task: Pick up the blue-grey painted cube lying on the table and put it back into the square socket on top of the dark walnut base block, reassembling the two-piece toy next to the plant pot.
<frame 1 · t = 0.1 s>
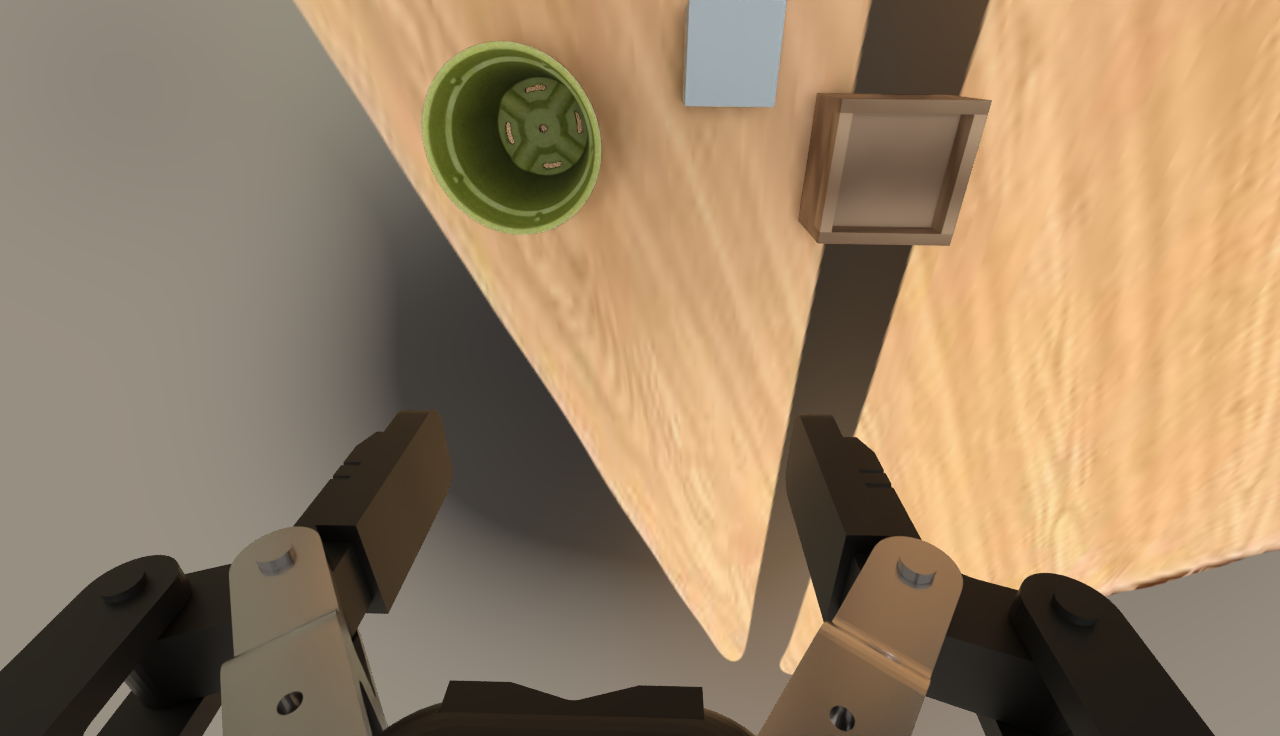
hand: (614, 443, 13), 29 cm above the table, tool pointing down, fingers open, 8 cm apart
walnut base: (867, 161, 36), on the table
bluegrey cube: (724, 56, 34), on the table
plant pot: (543, 127, 36), on the table
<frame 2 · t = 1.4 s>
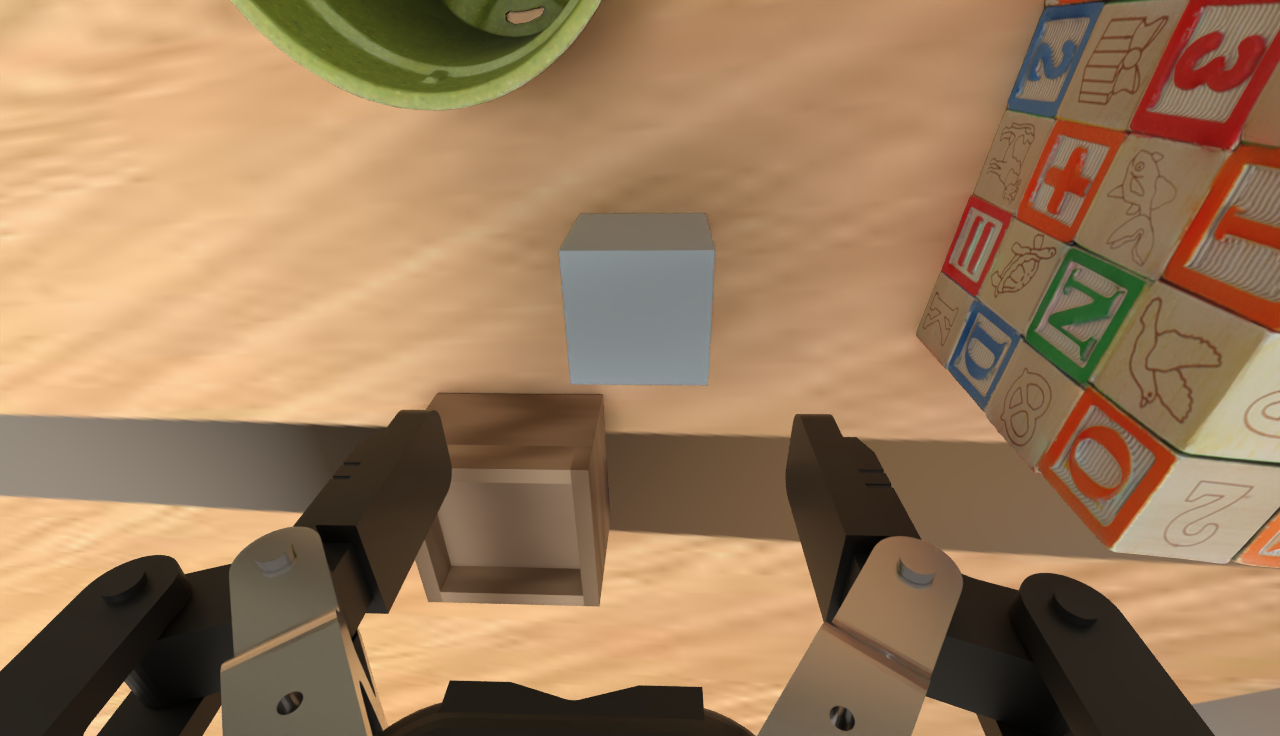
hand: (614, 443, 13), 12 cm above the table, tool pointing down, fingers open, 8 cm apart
walnut base: (529, 460, 28), on the table
bluegrey cube: (643, 272, 23), on the table
stack of blocks: (1103, 69, 19), on the table
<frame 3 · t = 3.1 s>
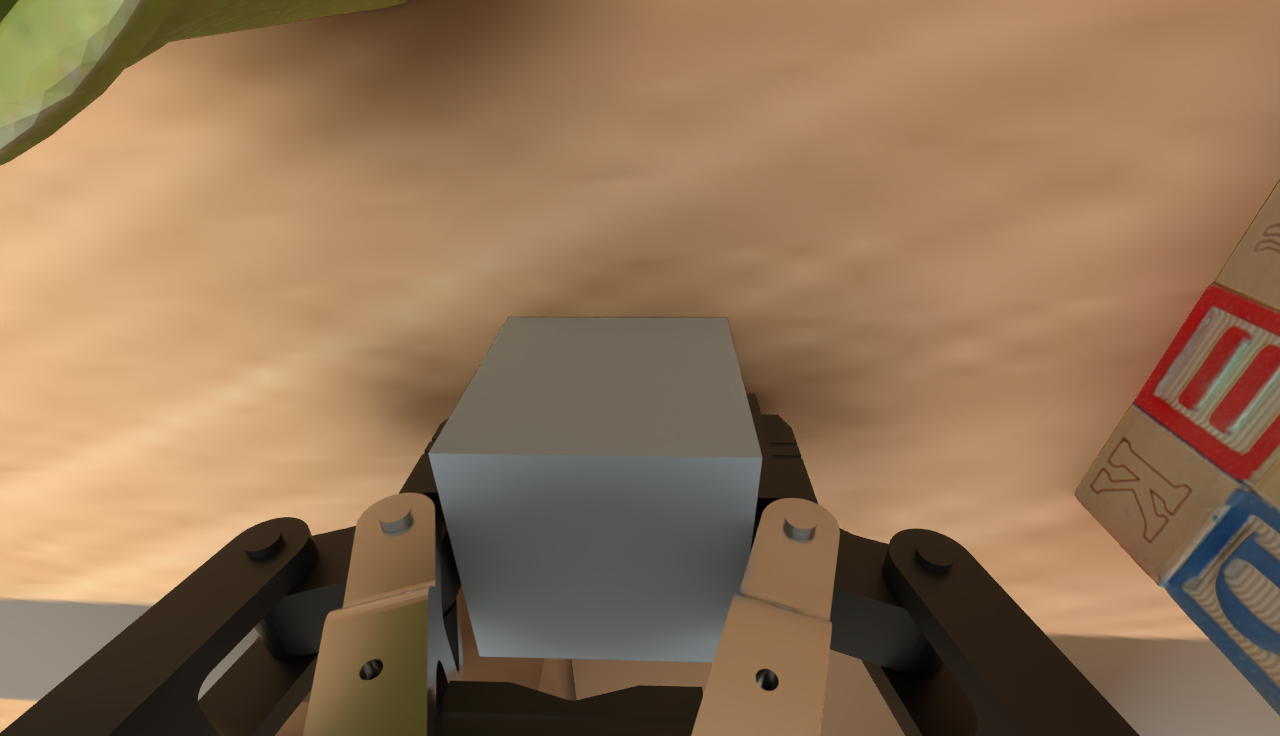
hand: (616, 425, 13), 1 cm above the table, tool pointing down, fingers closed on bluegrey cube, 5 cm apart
walnut base: (455, 651, 19), on the table
bluegrey cube: (620, 408, 14), on the table, touching gripper
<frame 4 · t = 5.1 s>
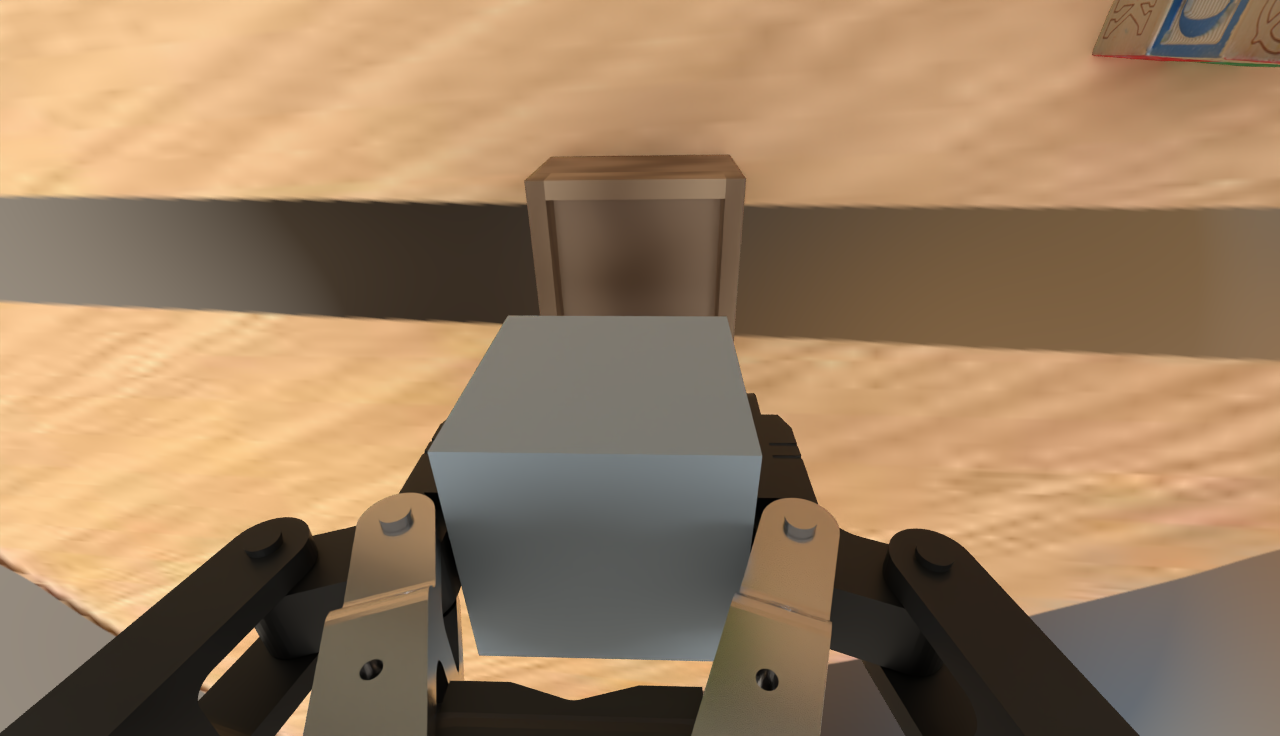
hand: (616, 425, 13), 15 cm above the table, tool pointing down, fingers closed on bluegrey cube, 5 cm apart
walnut base: (641, 243, 27), on the table
bluegrey cube: (619, 407, 14), point 15 cm above the table, touching gripper
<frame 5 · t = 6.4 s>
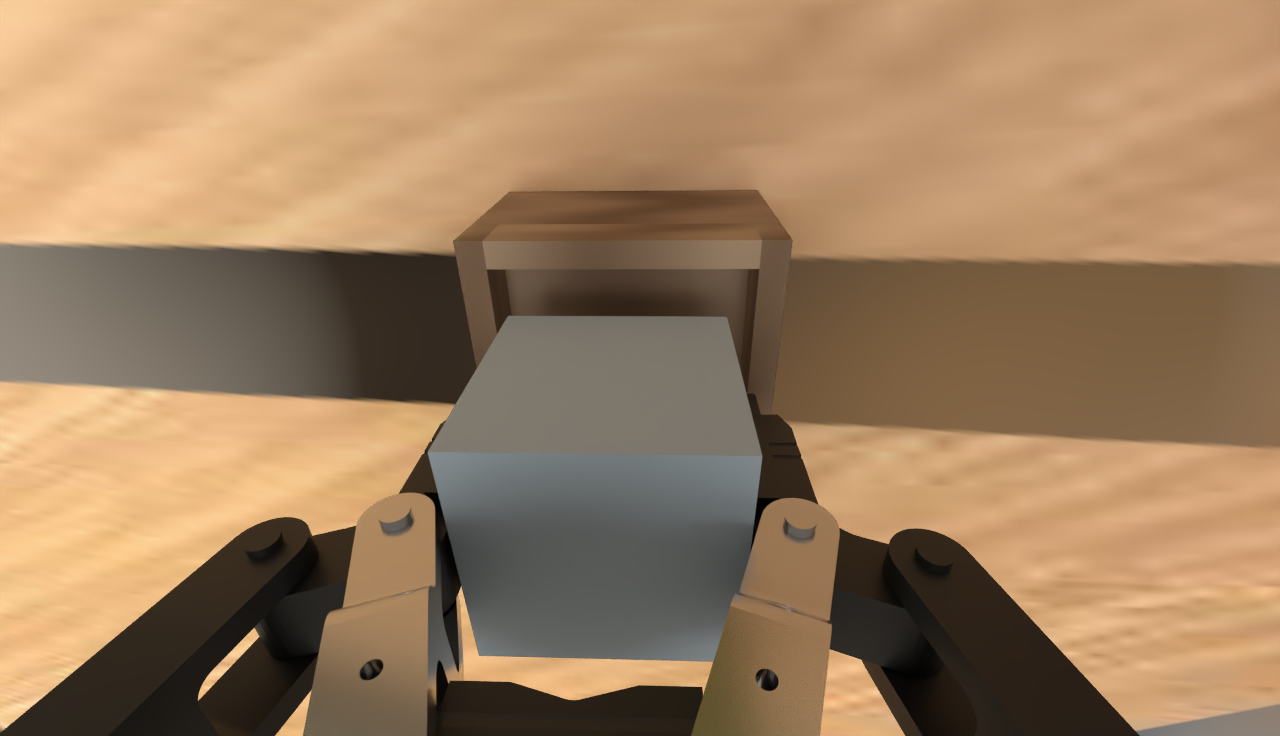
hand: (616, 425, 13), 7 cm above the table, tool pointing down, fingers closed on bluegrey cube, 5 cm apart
walnut base: (634, 306, 20), on the table
bluegrey cube: (619, 407, 14), point 7 cm above the table, touching gripper
when the fingers open (6 cm above the table, at t = 7.2 s): bluegrey cube stays where it is, resting on walnut base.
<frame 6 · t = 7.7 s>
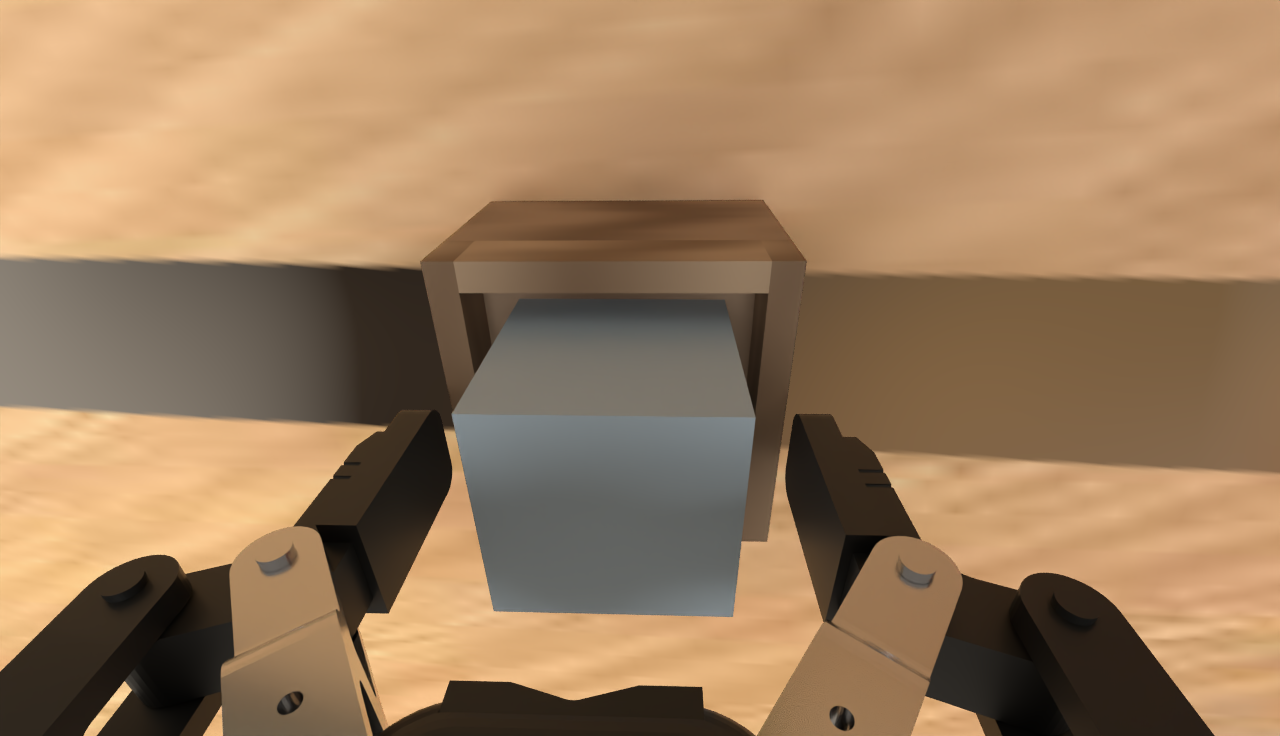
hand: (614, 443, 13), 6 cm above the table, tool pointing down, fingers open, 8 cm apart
walnut base: (628, 324, 18), on the table
bluegrey cube: (623, 386, 15), point 4 cm above the table, touching walnut base
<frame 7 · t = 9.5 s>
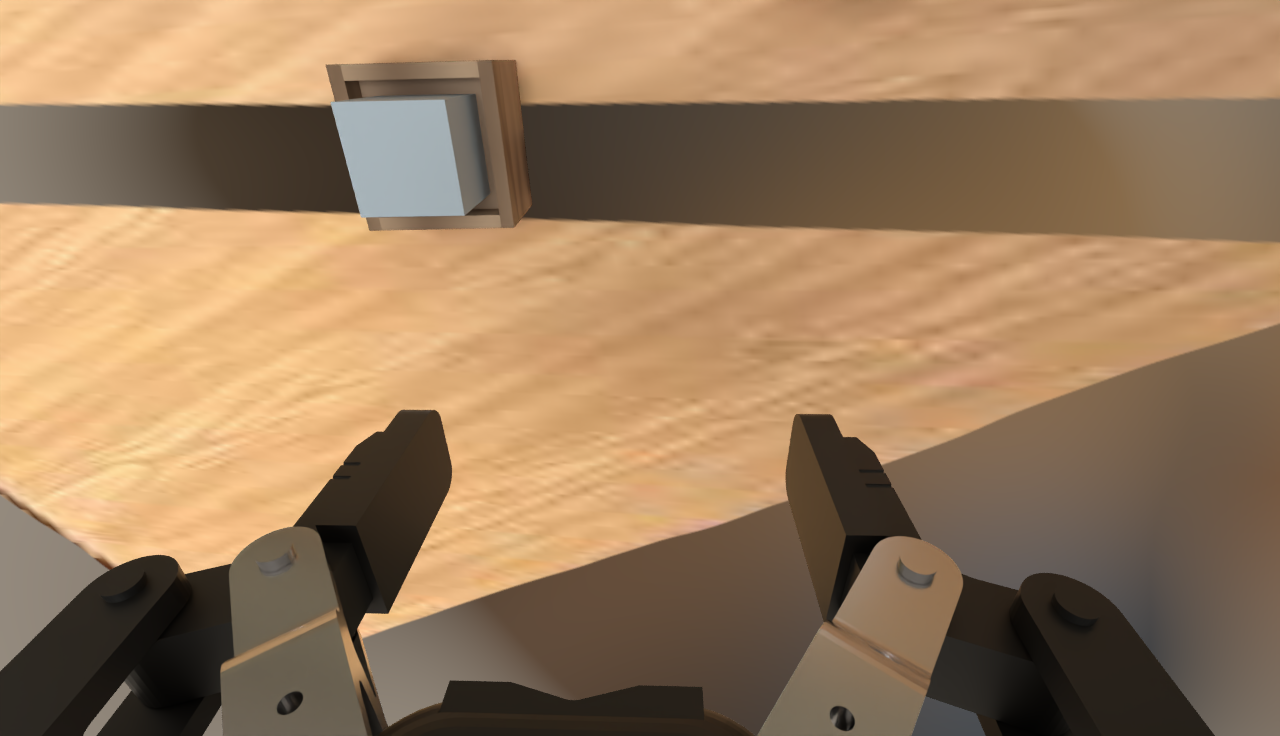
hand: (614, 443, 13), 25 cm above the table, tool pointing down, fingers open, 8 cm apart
walnut base: (458, 138, 33), on the table
bluegrey cube: (436, 146, 29), point 4 cm above the table, touching walnut base
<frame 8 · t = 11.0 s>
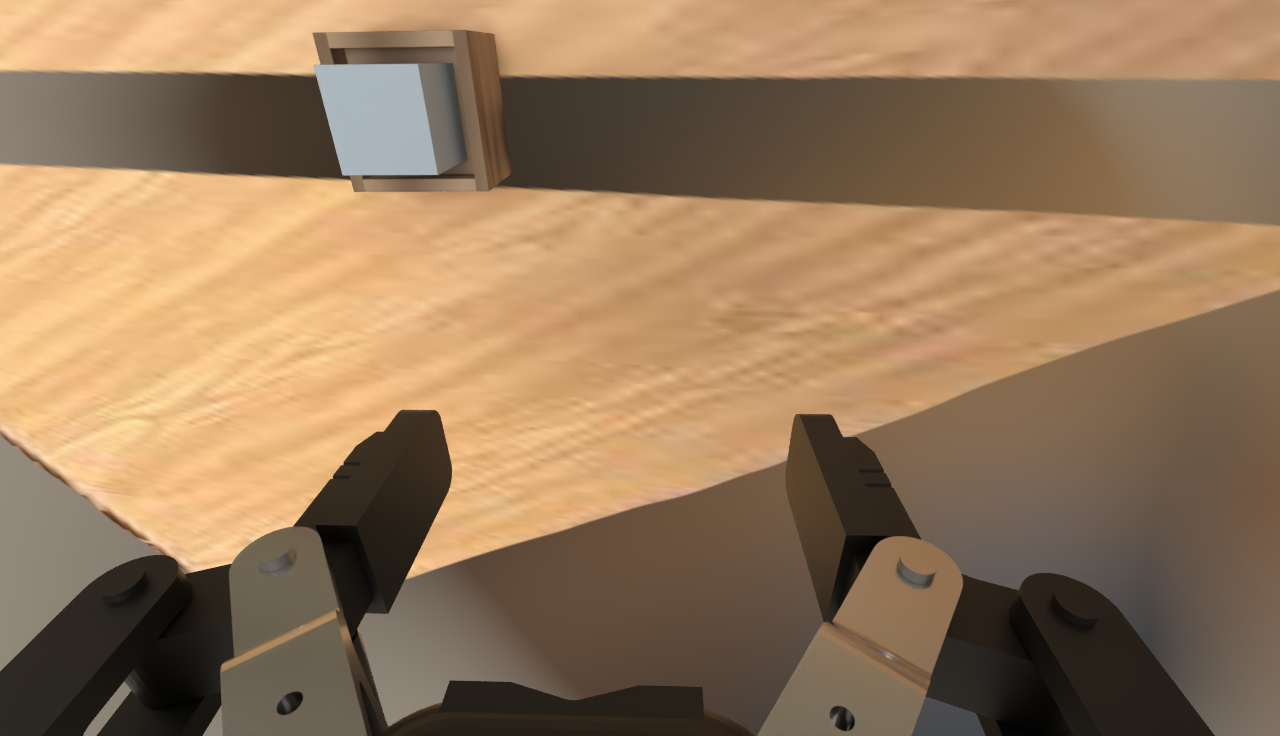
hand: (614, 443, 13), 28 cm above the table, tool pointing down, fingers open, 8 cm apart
walnut base: (440, 108, 35), on the table
bluegrey cube: (417, 113, 31), point 4 cm above the table, touching walnut base
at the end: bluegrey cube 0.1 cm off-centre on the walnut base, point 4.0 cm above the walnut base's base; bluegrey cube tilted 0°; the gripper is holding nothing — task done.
